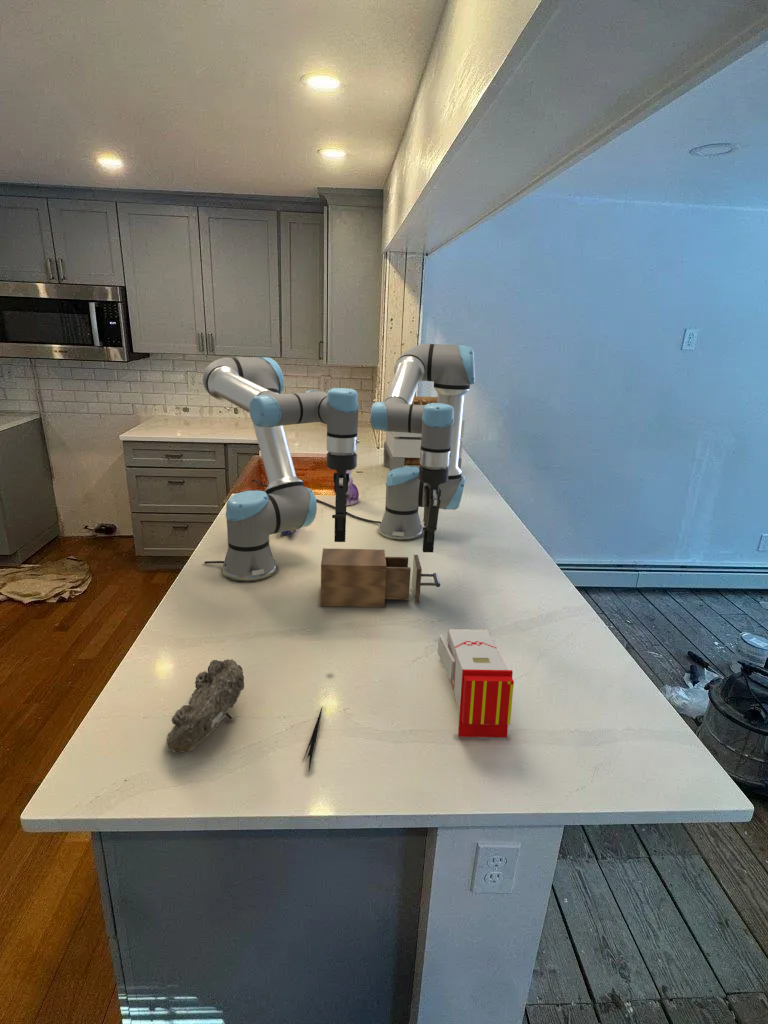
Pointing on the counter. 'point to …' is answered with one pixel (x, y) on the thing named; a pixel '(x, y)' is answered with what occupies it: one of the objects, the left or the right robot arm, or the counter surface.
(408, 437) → the grey box
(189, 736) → the fossil
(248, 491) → the left robot arm
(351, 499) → the figurine
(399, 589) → the drawer
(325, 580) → the cabinet
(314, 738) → the feather
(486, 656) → the toy
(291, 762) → the counter surface
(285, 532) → the figurine character
